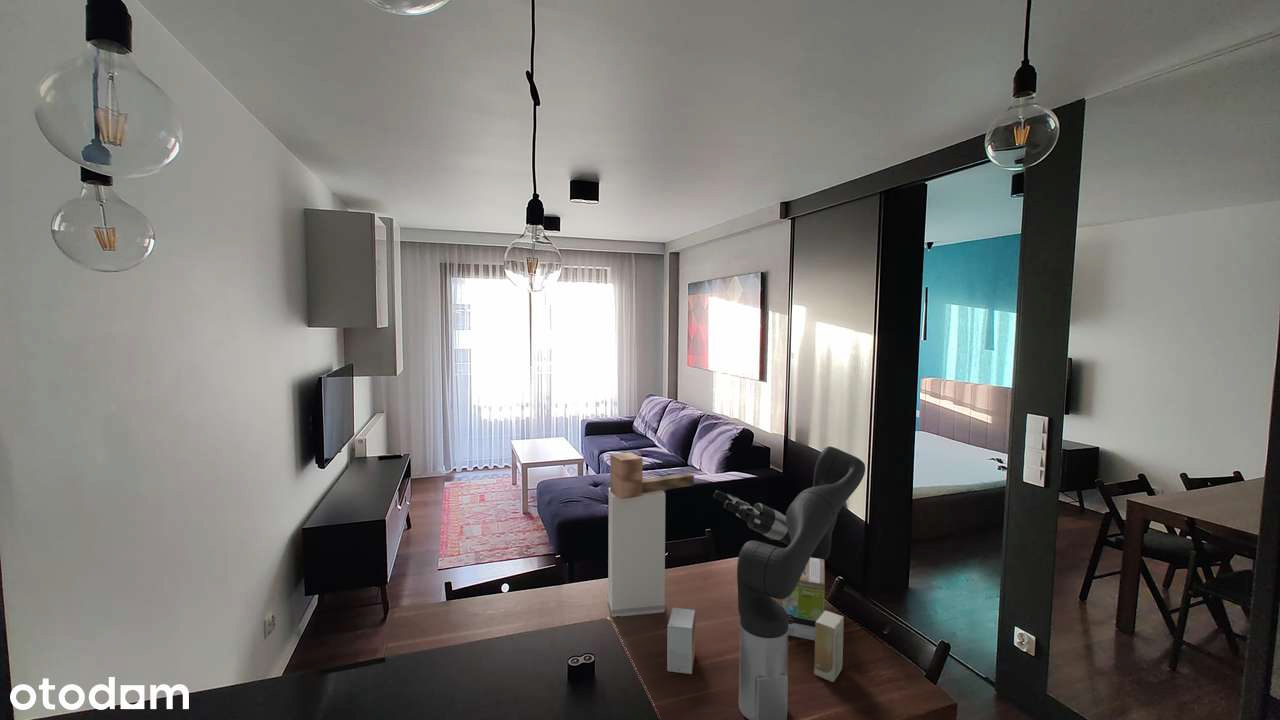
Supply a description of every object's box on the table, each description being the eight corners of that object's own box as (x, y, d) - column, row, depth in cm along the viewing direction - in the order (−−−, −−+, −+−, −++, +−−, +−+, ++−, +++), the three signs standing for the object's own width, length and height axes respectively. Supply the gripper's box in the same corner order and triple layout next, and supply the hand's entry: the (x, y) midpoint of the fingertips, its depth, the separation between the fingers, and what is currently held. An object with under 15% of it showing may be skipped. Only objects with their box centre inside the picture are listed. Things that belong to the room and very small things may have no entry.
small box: (691, 675, 115) (692, 628, 114) (666, 671, 116) (666, 625, 115) (695, 653, 122) (696, 609, 122) (671, 650, 124) (672, 606, 123)
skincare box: (823, 660, 120) (825, 608, 119) (843, 668, 117) (844, 615, 116) (812, 675, 115) (814, 621, 114) (832, 683, 112) (834, 628, 111)
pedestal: (658, 596, 148) (659, 484, 146) (665, 612, 140) (666, 494, 138) (607, 601, 145) (607, 487, 143) (611, 617, 137) (611, 497, 135)
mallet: (684, 480, 150) (684, 446, 149) (697, 487, 144) (698, 451, 143) (610, 491, 140) (610, 454, 139) (621, 499, 134) (621, 460, 133)
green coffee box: (823, 643, 127) (825, 583, 126) (780, 635, 130) (781, 576, 129) (823, 611, 141) (824, 557, 140) (784, 604, 144) (785, 552, 143)
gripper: (763, 501, 155) (717, 478, 152) (785, 519, 142) (735, 495, 138) (751, 523, 155) (705, 502, 152) (772, 544, 141) (722, 520, 138)
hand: (719, 498), depth 145 cm, fingers open, 8 cm apart
